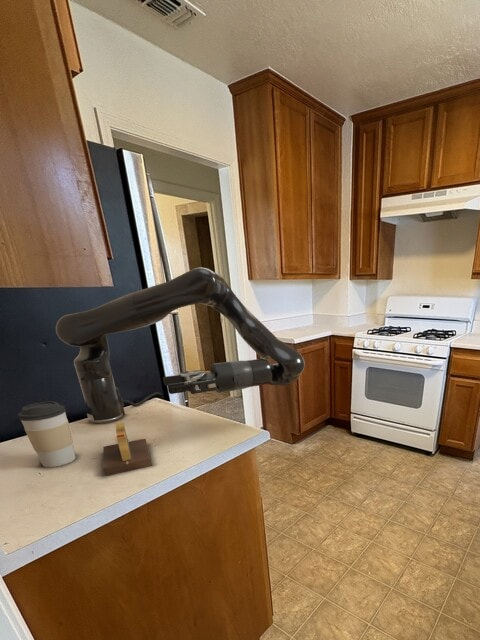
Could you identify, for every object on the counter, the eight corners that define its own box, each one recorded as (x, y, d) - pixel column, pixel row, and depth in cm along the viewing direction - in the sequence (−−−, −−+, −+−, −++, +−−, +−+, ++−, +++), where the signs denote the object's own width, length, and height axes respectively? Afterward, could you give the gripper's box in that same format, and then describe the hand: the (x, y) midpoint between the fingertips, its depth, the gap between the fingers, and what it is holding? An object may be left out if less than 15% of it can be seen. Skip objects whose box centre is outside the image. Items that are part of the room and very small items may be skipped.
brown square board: (93, 454, 92) (91, 447, 91) (157, 442, 99) (155, 435, 98) (91, 480, 79) (89, 471, 79) (164, 463, 86) (162, 455, 86)
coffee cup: (44, 456, 91) (23, 401, 85) (84, 450, 94) (67, 396, 88) (31, 472, 83) (8, 412, 78) (75, 465, 86) (56, 407, 81)
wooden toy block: (121, 444, 92) (115, 422, 90) (128, 443, 93) (123, 421, 91) (122, 461, 83) (116, 437, 81) (131, 459, 84) (125, 435, 82)
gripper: (223, 357, 96) (159, 364, 89) (238, 366, 85) (166, 375, 78) (226, 384, 99) (165, 393, 92) (242, 396, 88) (173, 408, 81)
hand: (165, 385), depth 85 cm, fingers open, 8 cm apart
